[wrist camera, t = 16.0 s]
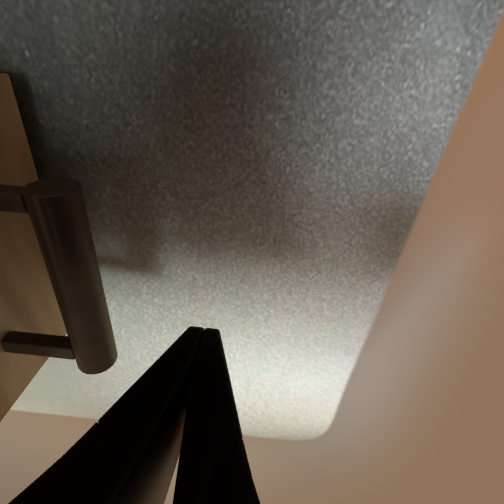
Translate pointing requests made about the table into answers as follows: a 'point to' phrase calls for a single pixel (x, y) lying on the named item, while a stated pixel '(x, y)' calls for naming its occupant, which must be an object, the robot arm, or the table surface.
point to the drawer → (44, 268)
